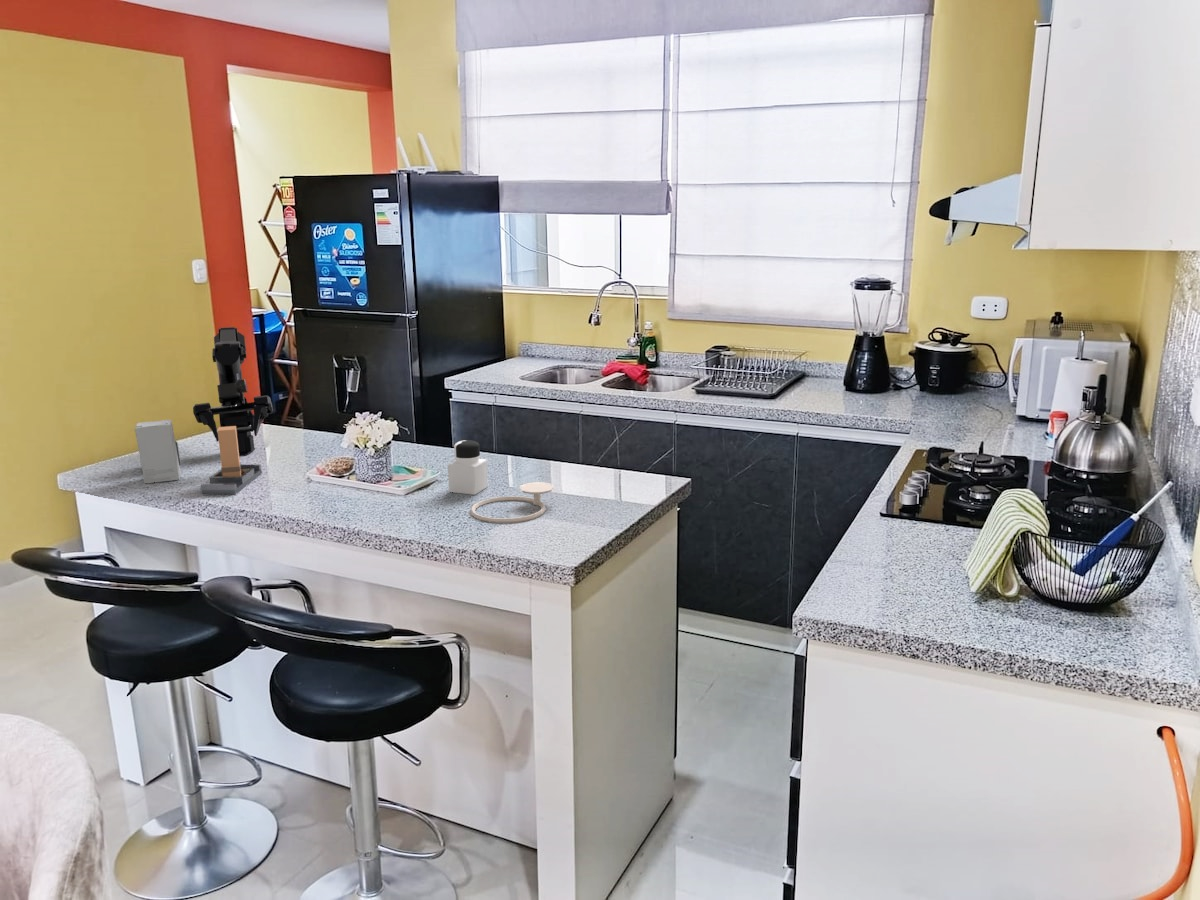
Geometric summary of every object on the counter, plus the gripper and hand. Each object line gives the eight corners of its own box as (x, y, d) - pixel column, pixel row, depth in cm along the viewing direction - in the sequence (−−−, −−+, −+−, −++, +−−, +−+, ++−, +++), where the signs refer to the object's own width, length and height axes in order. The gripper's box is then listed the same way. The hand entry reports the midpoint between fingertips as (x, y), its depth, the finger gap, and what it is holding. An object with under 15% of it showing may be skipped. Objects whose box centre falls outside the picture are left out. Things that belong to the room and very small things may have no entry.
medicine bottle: (488, 487, 224) (486, 439, 221) (475, 495, 217) (473, 446, 214) (462, 484, 226) (460, 437, 223) (448, 492, 220) (446, 444, 217)
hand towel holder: (455, 492, 207) (531, 475, 219) (456, 510, 208) (531, 493, 220) (494, 510, 194) (573, 492, 206) (495, 530, 195) (573, 510, 207)
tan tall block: (223, 477, 228) (218, 427, 225) (241, 476, 229) (236, 425, 226) (222, 482, 224) (217, 430, 221) (241, 480, 226) (235, 429, 222)
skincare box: (180, 474, 235) (173, 418, 231) (179, 481, 230) (171, 423, 226) (144, 478, 232) (137, 421, 228) (142, 484, 227) (134, 426, 223)
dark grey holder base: (201, 494, 218) (200, 483, 218) (230, 473, 236) (229, 463, 235) (235, 494, 219) (234, 483, 218) (261, 473, 236) (260, 463, 235)
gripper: (186, 374, 230) (190, 428, 224) (264, 365, 235) (270, 418, 228) (195, 395, 239) (200, 448, 233) (270, 386, 244) (276, 438, 238)
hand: (236, 438), depth 233 cm, fingers open, 9 cm apart
